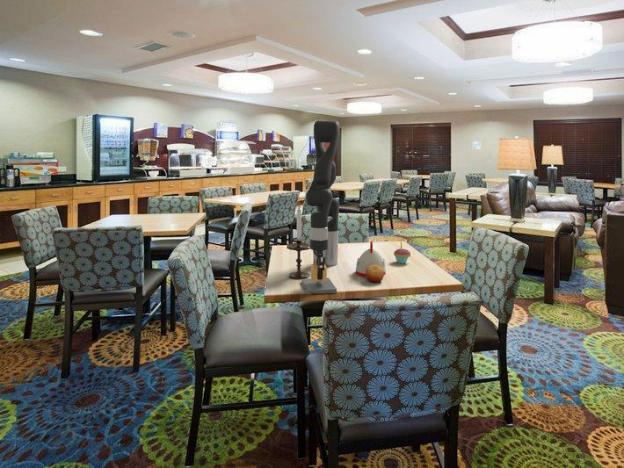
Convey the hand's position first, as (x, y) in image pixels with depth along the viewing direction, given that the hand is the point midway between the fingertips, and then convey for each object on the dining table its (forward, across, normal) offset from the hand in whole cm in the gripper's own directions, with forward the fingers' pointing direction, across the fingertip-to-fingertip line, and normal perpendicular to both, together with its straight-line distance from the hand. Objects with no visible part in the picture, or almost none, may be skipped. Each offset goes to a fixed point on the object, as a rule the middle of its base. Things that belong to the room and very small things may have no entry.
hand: (318, 277), depth 180 cm
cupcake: (+5, -34, +50) cm, 61 cm away
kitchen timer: (+5, -17, +28) cm, 33 cm away
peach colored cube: (+1, 0, 0) cm, 1 cm away
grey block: (+4, 0, 0) cm, 4 cm away
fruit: (+5, -5, +26) cm, 27 cm away
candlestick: (+5, -17, -6) cm, 19 cm away
